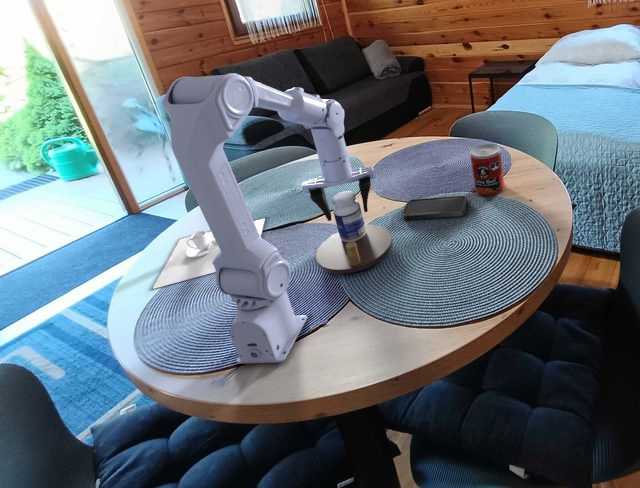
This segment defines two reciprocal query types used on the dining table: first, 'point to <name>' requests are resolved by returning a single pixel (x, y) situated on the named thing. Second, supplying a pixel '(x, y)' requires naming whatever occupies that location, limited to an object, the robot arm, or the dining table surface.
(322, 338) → the dining table surface
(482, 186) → the canned food
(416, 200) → the phone
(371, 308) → the dining table surface
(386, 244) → the tray
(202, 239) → the teacup and saucer
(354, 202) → the pill bottle
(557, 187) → the dining table surface
